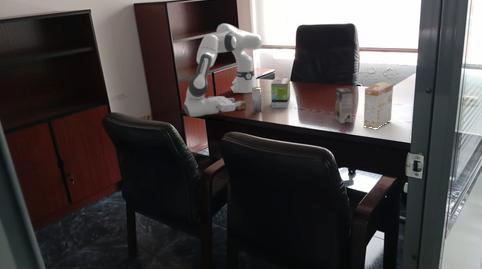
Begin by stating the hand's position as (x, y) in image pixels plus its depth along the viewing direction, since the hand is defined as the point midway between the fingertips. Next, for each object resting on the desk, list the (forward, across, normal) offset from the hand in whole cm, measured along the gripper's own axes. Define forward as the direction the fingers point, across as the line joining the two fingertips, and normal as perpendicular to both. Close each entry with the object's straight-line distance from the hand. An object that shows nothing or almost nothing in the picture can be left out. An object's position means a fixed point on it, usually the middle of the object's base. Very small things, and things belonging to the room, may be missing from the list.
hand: (237, 101), depth 224 cm
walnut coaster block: (+6, +12, +8) cm, 16 cm away
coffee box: (+44, -38, +8) cm, 59 cm away
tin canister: (+12, 0, +8) cm, 14 cm away
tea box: (+30, +6, +8) cm, 32 cm away
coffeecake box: (+54, -52, +8) cm, 75 cm away
